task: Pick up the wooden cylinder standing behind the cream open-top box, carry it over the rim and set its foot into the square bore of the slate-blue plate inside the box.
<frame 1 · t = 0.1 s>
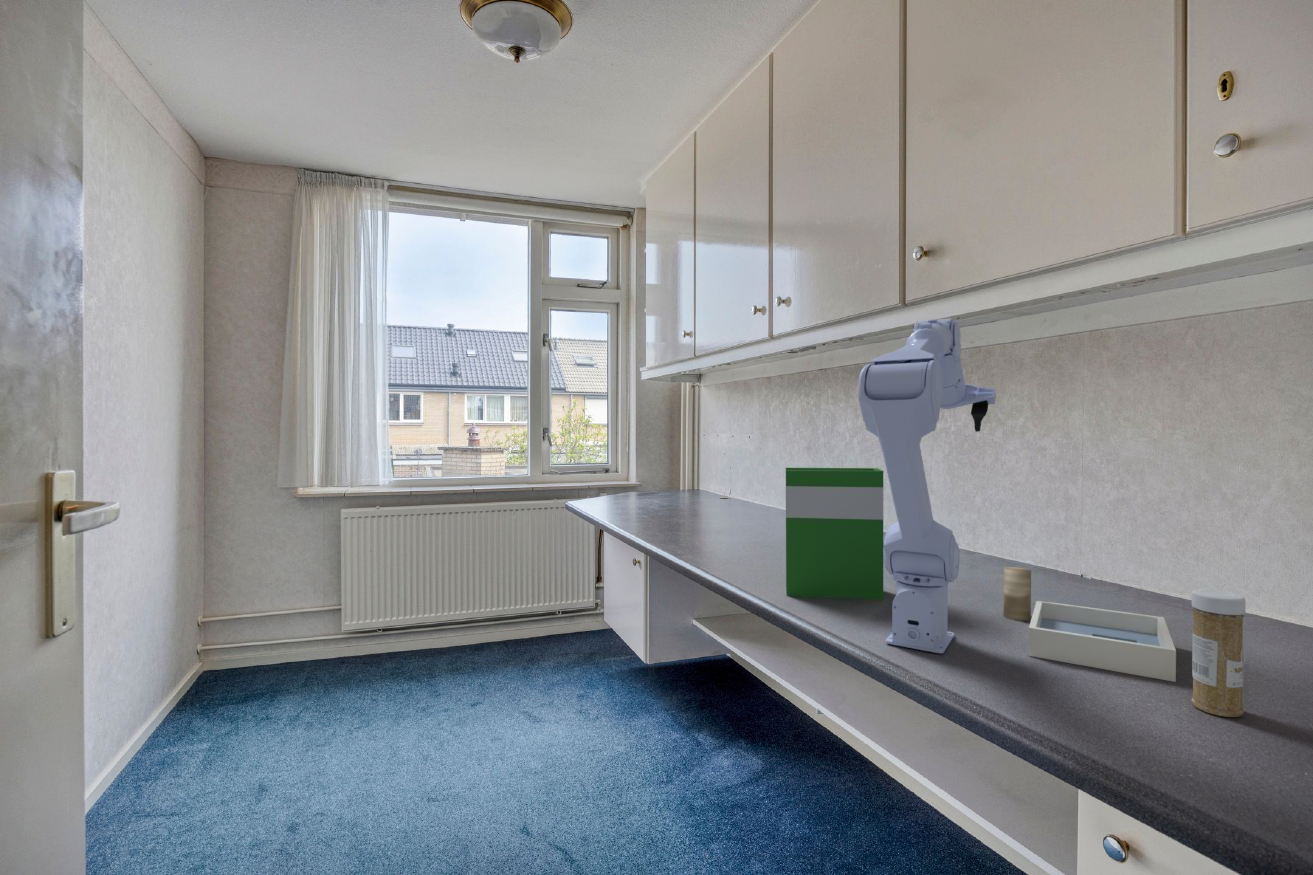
hand: (955, 427, 117), 32 cm above the table, tool tilted 50°, fingers open, 7 cm apart
sprinkles bottle: (1216, 711, 71), on the table
box: (1097, 649, 90), on the table
hardback book: (832, 593, 121), on the table
wooden cylinder: (1017, 616, 105), on the table
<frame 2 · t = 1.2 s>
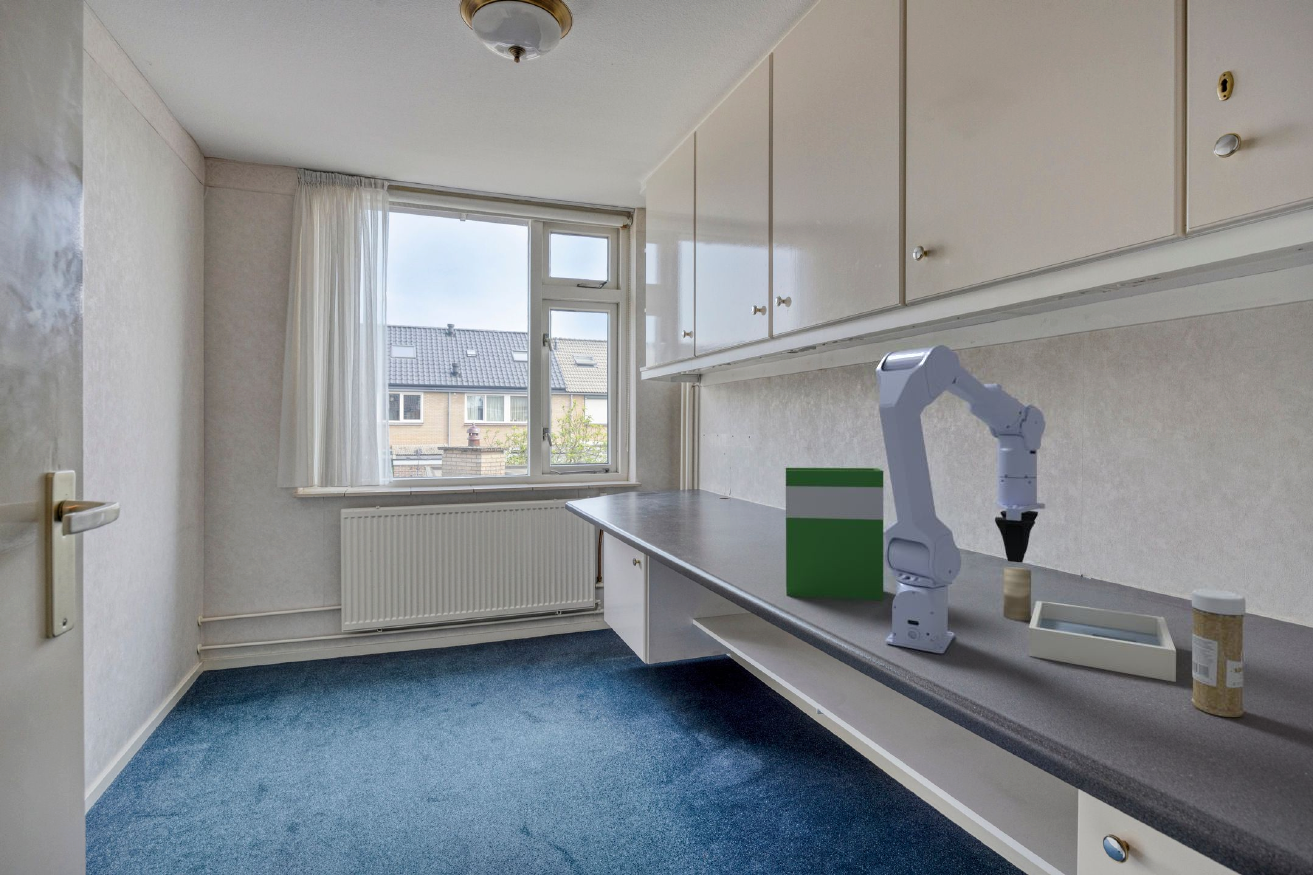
hand: (1017, 557, 105), 10 cm above the table, tool pointing down, fingers open, 7 cm apart
nothing on the table moved.
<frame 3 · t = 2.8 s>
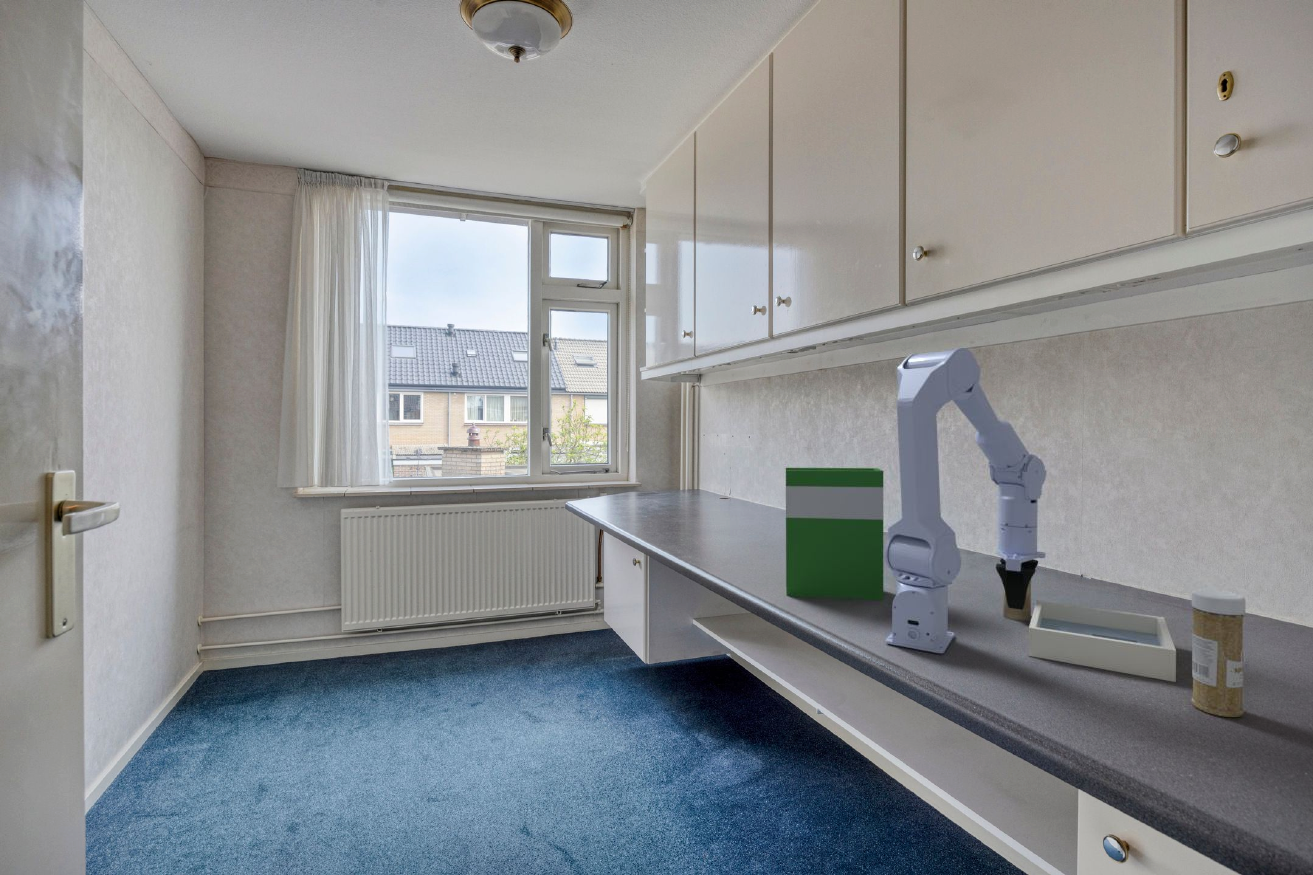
hand: (1017, 604, 105), 2 cm above the table, tool pointing down, fingers closed on wooden cylinder, 4 cm apart
wooden cylinder: (1017, 616, 105), on the table, touching gripper
everything else where it was.
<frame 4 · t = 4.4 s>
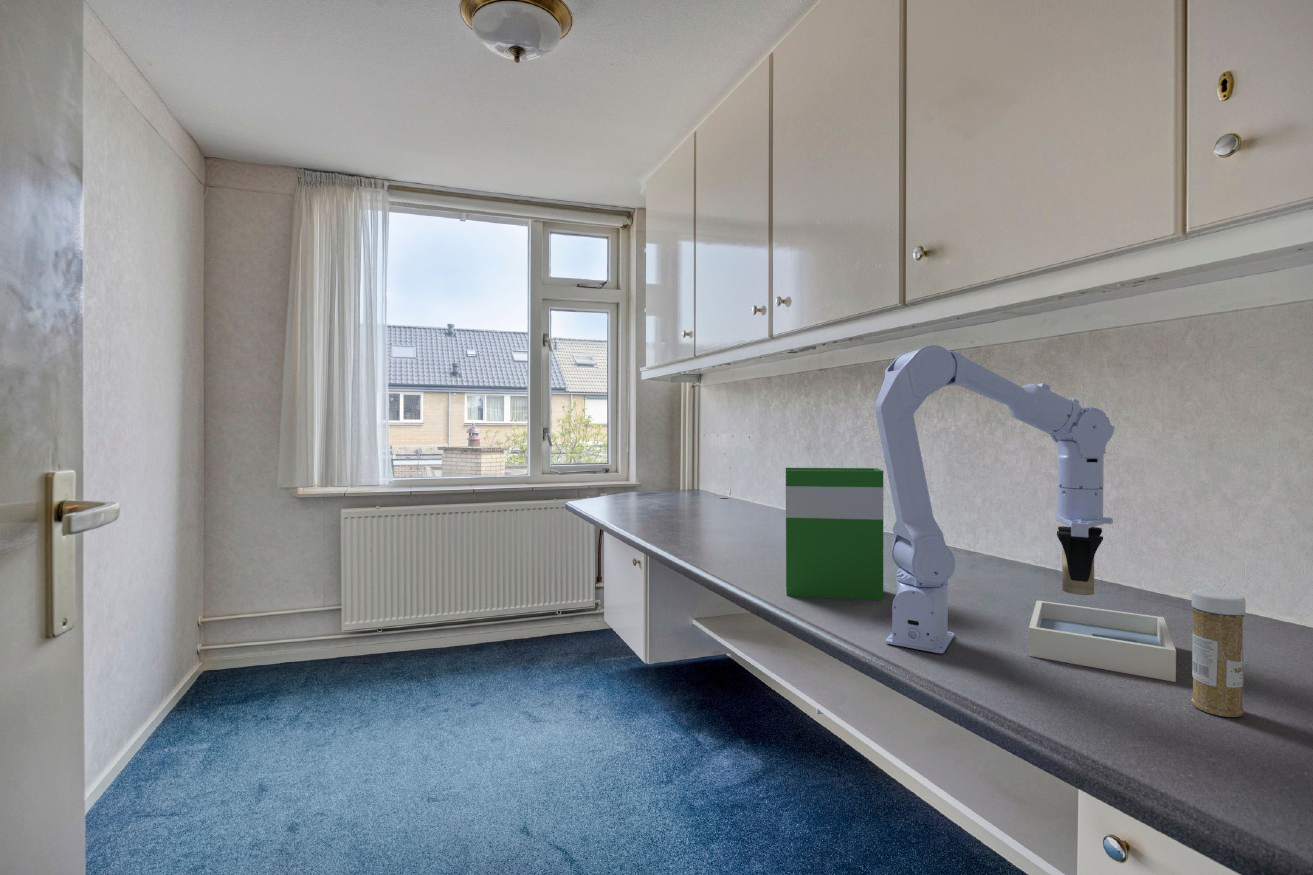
hand: (1079, 577, 94), 9 cm above the table, tool pointing down, fingers closed on wooden cylinder, 4 cm apart
wooden cylinder: (1078, 591, 94), point 7 cm above the table, touching gripper
everything else where it was.
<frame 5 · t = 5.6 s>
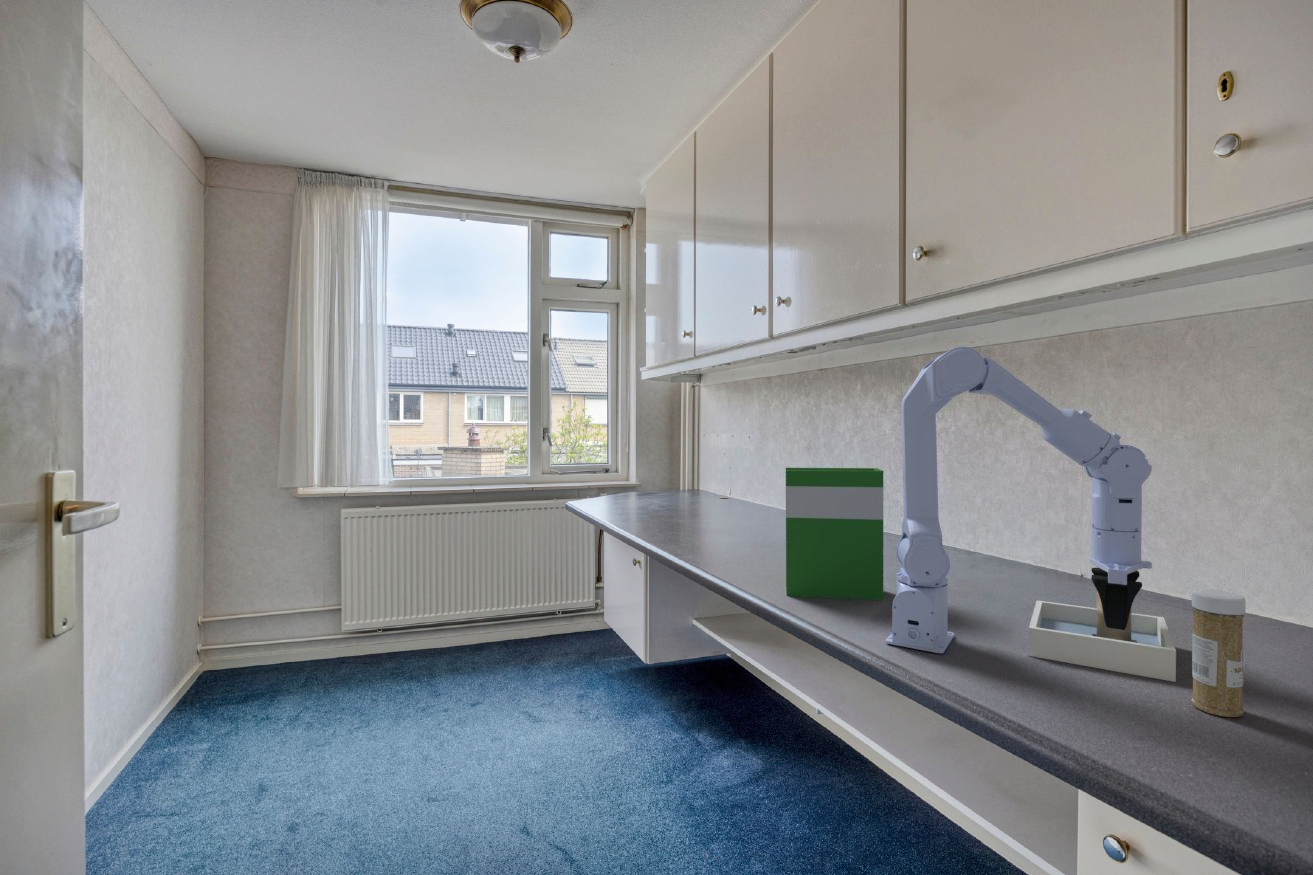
hand: (1115, 623, 89), 4 cm above the table, tool pointing down, fingers closed on wooden cylinder, 4 cm apart
wooden cylinder: (1113, 638, 89), point 2 cm above the table, touching gripper
everything else where it was.
when the fingers open (3 cm above the table, at t = 6.2 s): wooden cylinder stays where it is, resting in box.
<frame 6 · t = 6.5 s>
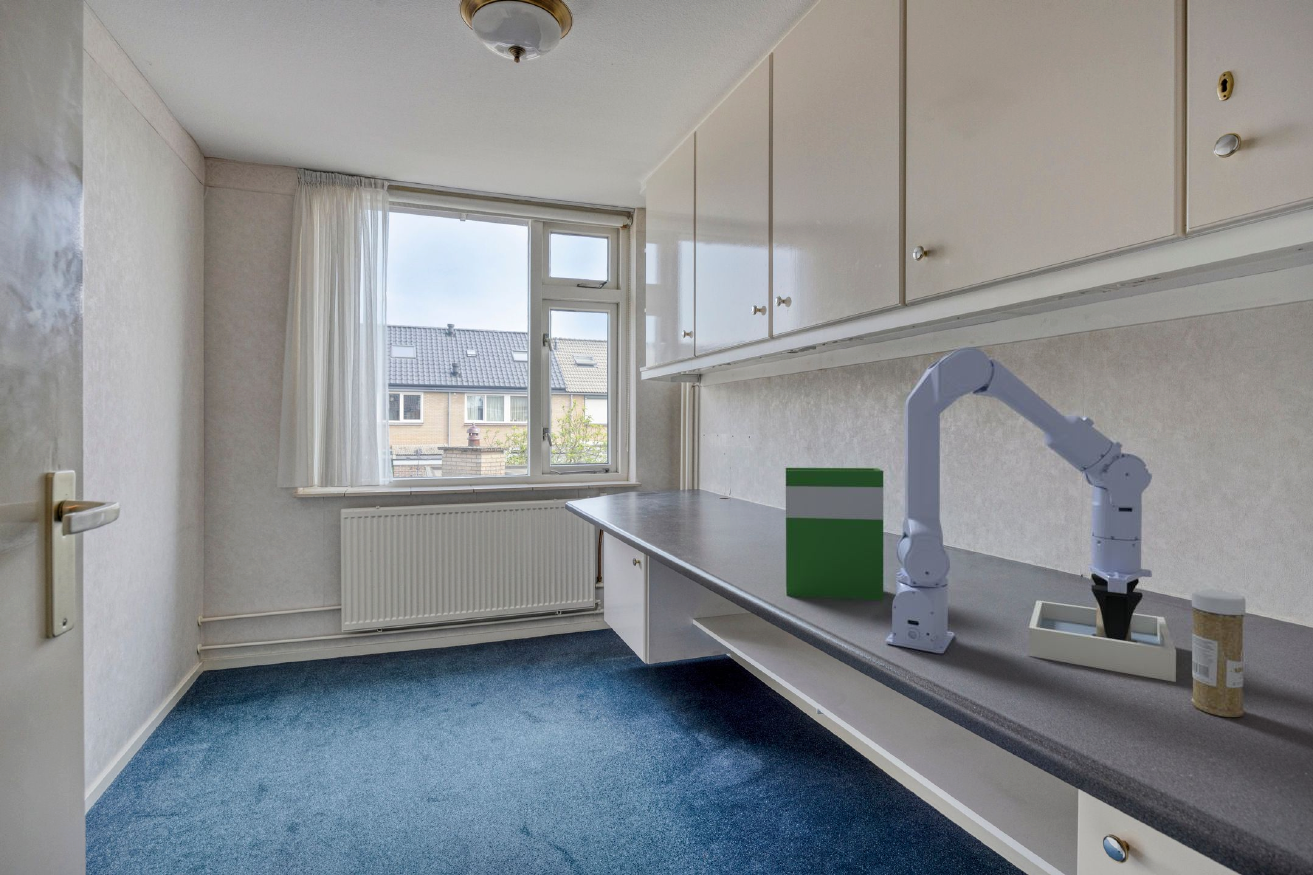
hand: (1114, 631, 89), 3 cm above the table, tool pointing down, fingers open, 6 cm apart
wooden cylinder: (1113, 652, 89), resting in box
everything else where it was.
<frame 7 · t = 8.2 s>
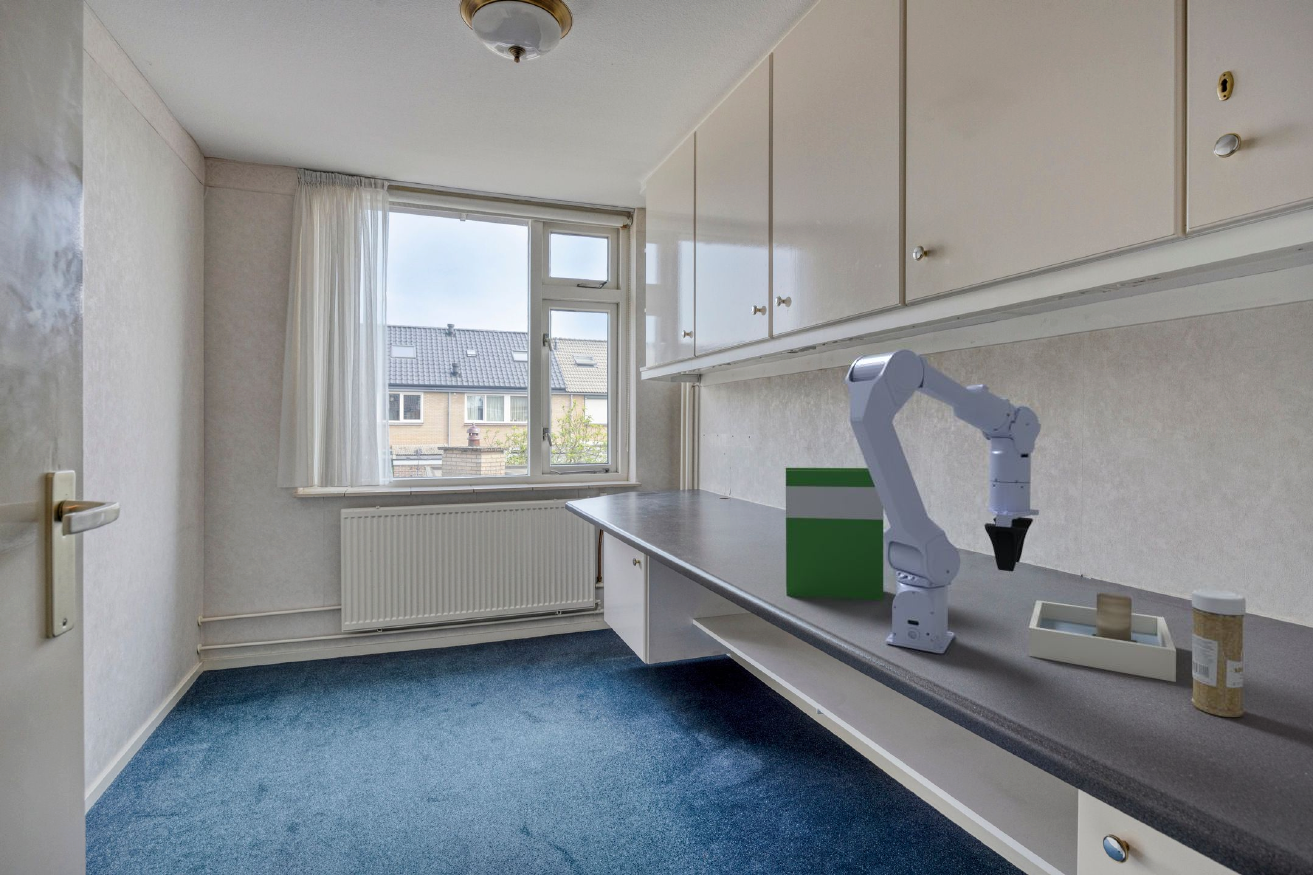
hand: (1008, 565, 100), 10 cm above the table, tool pointing down, fingers open, 7 cm apart
nothing on the table moved.
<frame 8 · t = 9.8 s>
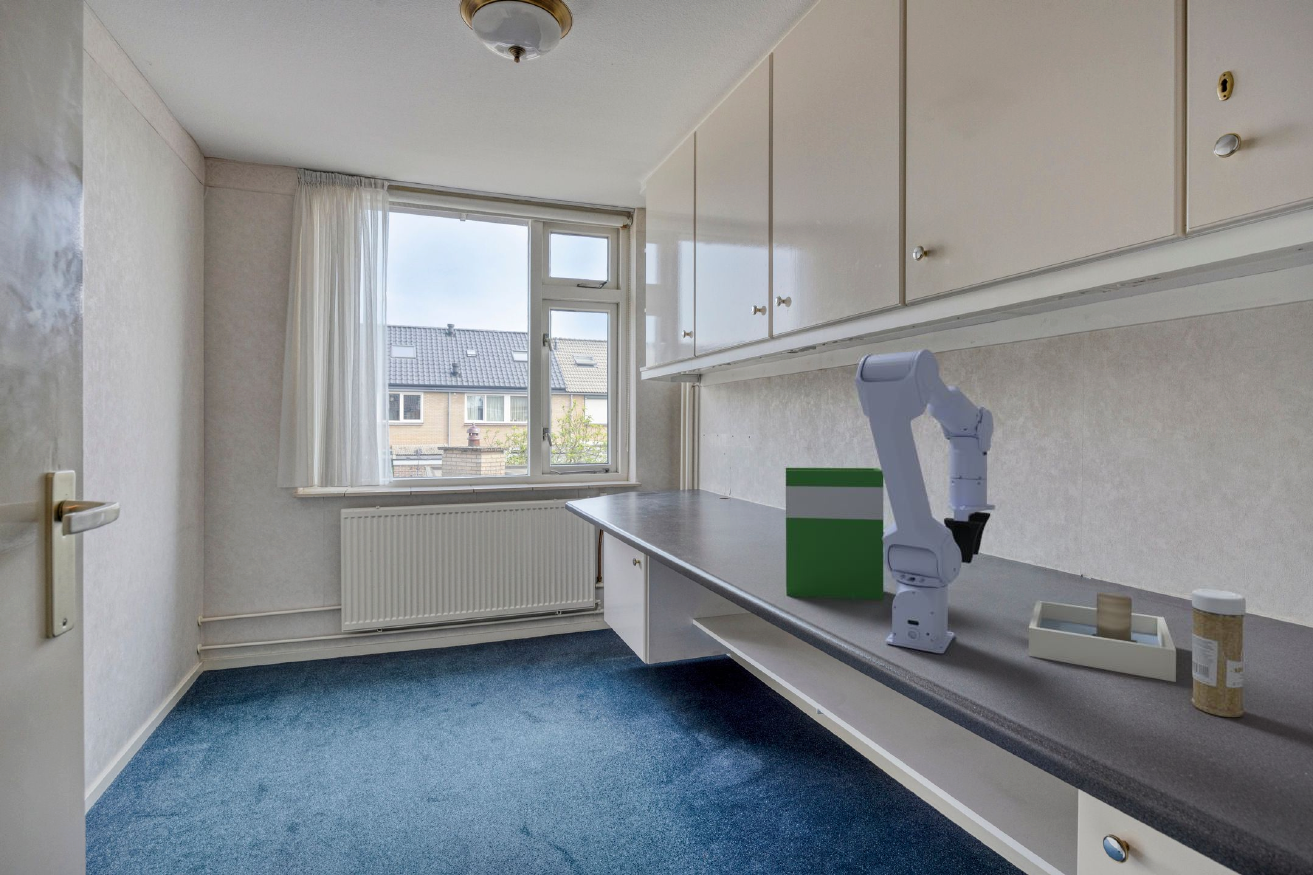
hand: (967, 557, 106), 10 cm above the table, tool pointing down, fingers open, 7 cm apart
nothing on the table moved.
at the end: wooden cylinder 0.1 cm from the target spot on the box, point 0.0 cm above the box's base; wooden cylinder tilted 0°; the gripper is holding nothing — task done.
